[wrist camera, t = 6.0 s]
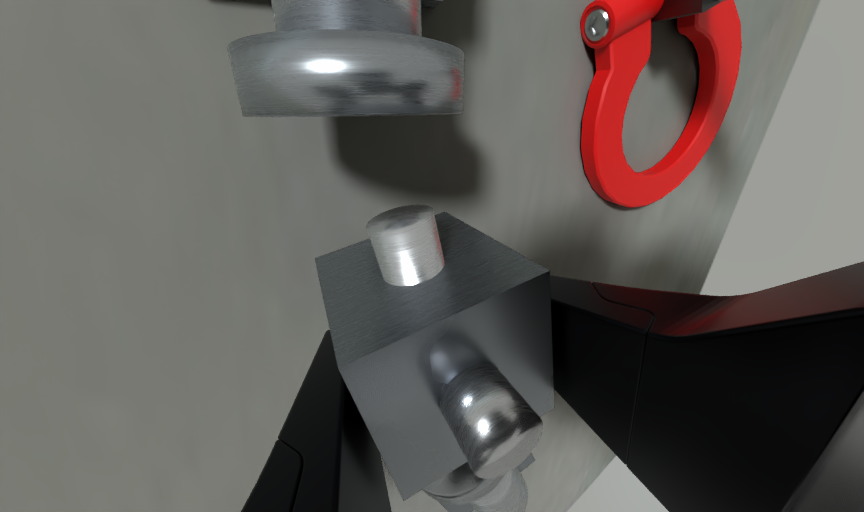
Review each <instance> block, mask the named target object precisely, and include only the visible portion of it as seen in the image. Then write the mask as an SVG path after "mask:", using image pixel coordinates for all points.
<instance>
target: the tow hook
mask: <svg viewBox="0 0 864 512" xmlns="http://www.w3.org/2000/svg"><path fill="white" fill-rule="evenodd" d="M675 18H678V20H677V29H678V31H679V33H680V34H683V35H685V36H686V37H687V38H688V39H690V40H691V41H692V42H693V44H694V46H695V48H696V51H697V53H698V59H699V67H700V73H699V87H698V91H697V96H696V100H695V104H694V107H693V110H692V113H691V115H690V118H689V121H688V123H687V125H686V127H685V129H684V131H683V133H682V134H681V136H680V138H679V139H678V141H677V142H676V144H675V145H674V147H673V148H672V149H671V151H670V152H669V153H668V154H667V155H666V156H665V157H664V158H663V159H662V160H661V161H660V162H659V163H657V164H656V165H655V166H653V167H652V168H650V169H648V170H645V171H643V172H640V173H636V172H634V171H633V170H632V169H631V167H630V166H629V165H628V164H627V161H626V159H625V156H624V153H623V146H622V128H623V120H624V114H625V110H626V107H627V103H628V100H629V96H630V93H631V91H632V89H633V87H634V84H635V82H636V80H637V78H638V76H639V74H640V72H641V70H642V69H643V67H644V66H645V64H646V63H647V61H648V59H649V56H650V53H651V23H656V22H660V21H665V20H670V19H675ZM580 30H581V35H582V38H583V40H584V42H585V43H586V44H587V45H588V46H589V47H591V48H594V49H595V60H596V73H595V76H594V78H593V81H592V83H591V85H590V89H589V93H588V97H587V102H586V106H585V110H584V115H583V119H582V137H581V152H582V158H583V164H584V170H585V173H586V175H587V177H588V180H589V182H590V184H591V186H592V188H593V190H595V191H596V192H597V193H598V194H599V195H600V196H601V197H602V198H603V199H604V200H607V201H610V202H613V203H616V204H619V205H622V206H626V207H629V208H631V207H640V206H646V205H648V204H651V203H653V202H655V201H657V200H659V199H661V198H663V197H664V196H665V195H667V194H668V193H669V192H671V191H672V190H673V189H675V188H676V187H677V186H679V185H680V183H681V182H682V181H683V180H684V179H685V178H686V177H687V176H688V175H689V174H690V173H691V172H692V171H693V170H694V168H695V167H696V166H697V164H698V163H699V161H700V160H701V159H702V157H703V156H704V154H705V153H706V151H707V150H708V148H709V147H710V145H711V143H712V141H713V139H714V137H715V136H716V134H717V132H718V130H719V128H720V126H721V124H722V122H723V119H724V117H725V114H726V112H727V109H728V107H729V104H730V102H731V99H732V95H733V91H734V88H735V84H736V80H737V76H738V71H739V63H740V56H741V48H742V46H741V24H740V19H739V16H738V13H737V10H736V6H735V3H734V0H595V1H594V2H592V3H590V4H589V5H588V6H587V7H586V9H585V10H584V12H583V14H582V17H581V22H580Z"/></svg>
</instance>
